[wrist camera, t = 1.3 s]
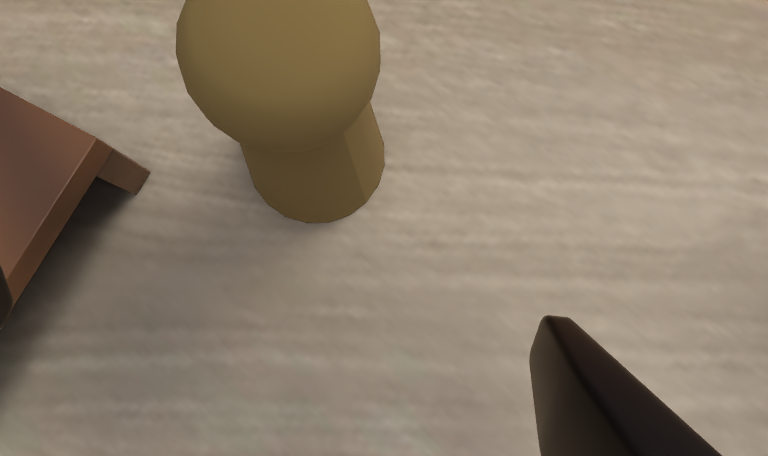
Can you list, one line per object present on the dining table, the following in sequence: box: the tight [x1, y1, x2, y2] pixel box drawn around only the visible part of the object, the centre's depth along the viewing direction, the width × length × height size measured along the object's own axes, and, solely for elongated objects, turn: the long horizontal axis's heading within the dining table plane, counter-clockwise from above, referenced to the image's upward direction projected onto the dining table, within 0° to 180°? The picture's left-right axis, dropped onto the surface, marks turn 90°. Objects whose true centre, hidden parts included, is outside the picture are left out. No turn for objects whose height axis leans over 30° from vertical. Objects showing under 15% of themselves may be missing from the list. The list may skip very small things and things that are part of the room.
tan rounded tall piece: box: [176, 0, 384, 223], centre depth 17 cm, size 6×6×11 cm
